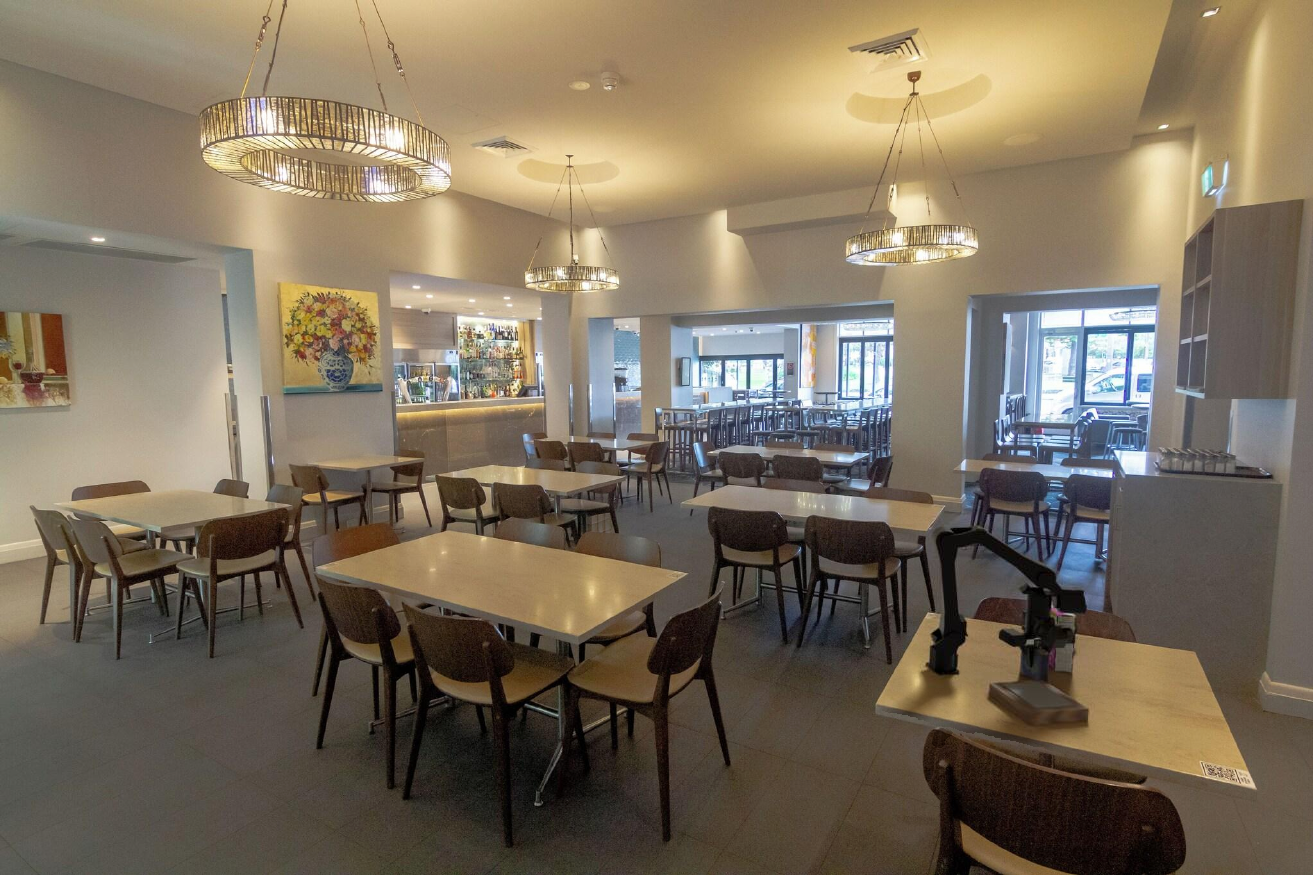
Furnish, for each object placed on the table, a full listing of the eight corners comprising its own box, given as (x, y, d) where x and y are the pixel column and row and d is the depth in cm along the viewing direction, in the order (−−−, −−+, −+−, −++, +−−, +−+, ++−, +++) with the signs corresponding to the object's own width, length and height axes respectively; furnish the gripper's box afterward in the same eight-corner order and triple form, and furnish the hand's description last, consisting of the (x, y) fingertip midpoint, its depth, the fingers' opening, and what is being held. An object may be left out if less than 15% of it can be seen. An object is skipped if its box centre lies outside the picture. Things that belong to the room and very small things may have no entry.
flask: (1017, 672, 180) (1019, 634, 179) (1027, 671, 180) (1029, 634, 179) (1041, 688, 171) (1044, 648, 170) (1051, 687, 171) (1054, 648, 170)
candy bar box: (1038, 654, 191) (1041, 600, 190) (1057, 656, 190) (1060, 601, 189) (1053, 671, 180) (1057, 614, 179) (1073, 673, 179) (1077, 615, 178)
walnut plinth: (1030, 725, 152) (1031, 711, 152) (988, 694, 167) (989, 681, 167) (1087, 720, 154) (1088, 707, 154) (1041, 690, 169) (1042, 678, 169)
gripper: (1028, 623, 164) (1024, 683, 166) (1094, 619, 167) (1090, 678, 169) (998, 607, 175) (995, 663, 177) (1061, 604, 178) (1057, 659, 180)
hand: (1034, 666), depth 175 cm, fingers closed on flask, 3 cm apart
